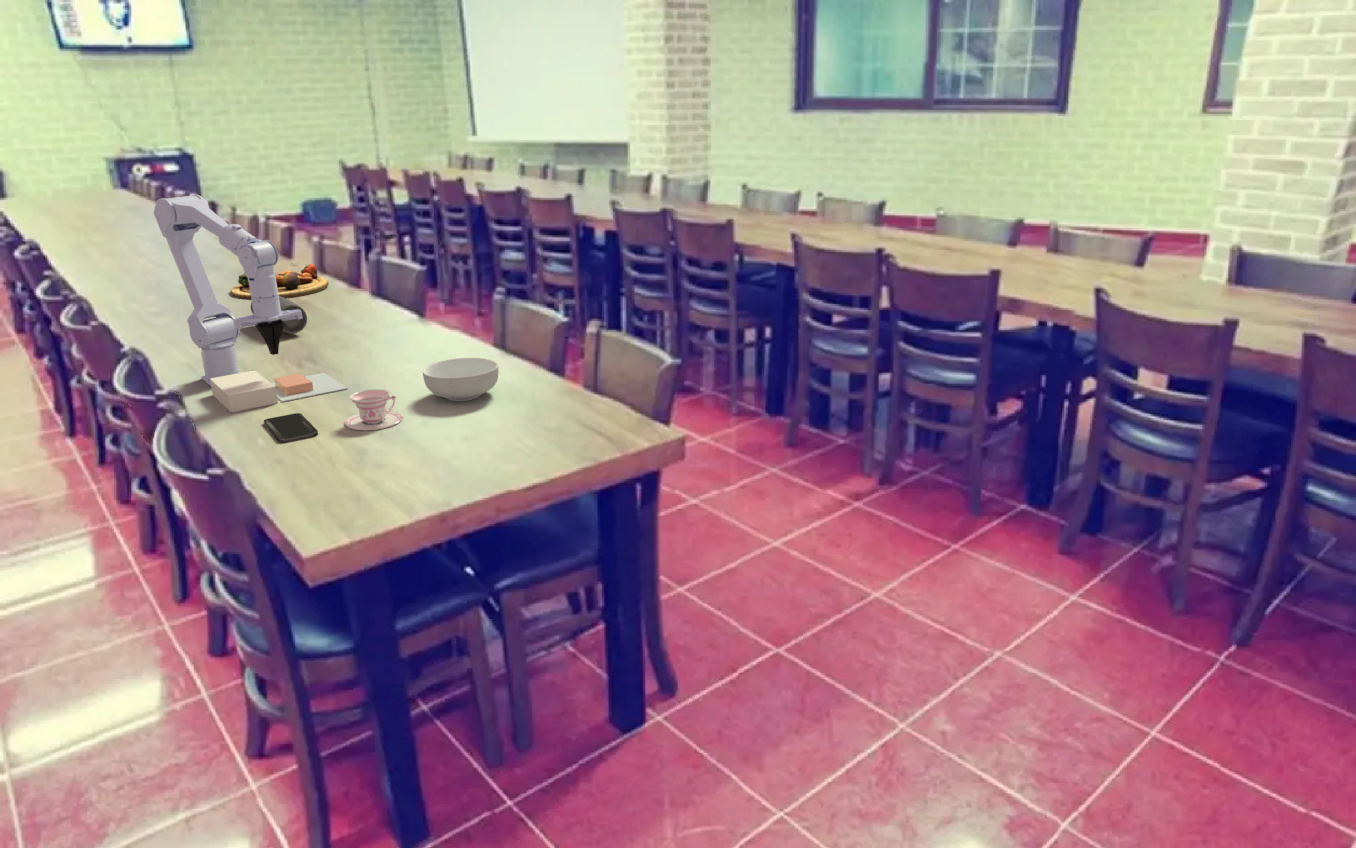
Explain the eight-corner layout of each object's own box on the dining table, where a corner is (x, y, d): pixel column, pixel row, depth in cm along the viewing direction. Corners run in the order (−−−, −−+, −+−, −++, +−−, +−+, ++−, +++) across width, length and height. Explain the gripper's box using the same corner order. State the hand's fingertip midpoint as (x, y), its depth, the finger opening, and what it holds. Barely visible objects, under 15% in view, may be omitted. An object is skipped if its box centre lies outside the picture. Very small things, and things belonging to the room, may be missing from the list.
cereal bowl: (493, 381, 226) (490, 353, 223) (506, 402, 211) (504, 372, 209) (421, 390, 220) (418, 361, 218) (430, 411, 205) (427, 381, 203)
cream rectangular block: (212, 394, 217) (209, 378, 216) (257, 386, 223) (254, 370, 222) (231, 412, 206) (228, 395, 204) (278, 403, 211) (275, 386, 210)
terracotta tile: (299, 373, 225) (301, 381, 226) (274, 378, 222) (275, 386, 222) (312, 382, 218) (313, 390, 219) (285, 387, 215) (287, 395, 216)
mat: (261, 385, 224) (261, 384, 224) (324, 373, 232) (324, 372, 232) (282, 402, 212) (282, 401, 212) (347, 389, 221) (347, 387, 221)
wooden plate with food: (310, 277, 349) (306, 255, 346) (343, 290, 326) (339, 266, 323) (220, 291, 329) (215, 268, 327) (248, 306, 306) (243, 281, 304)
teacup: (343, 434, 193) (339, 406, 191) (346, 415, 204) (342, 388, 202) (403, 428, 196) (400, 400, 194) (402, 410, 207) (399, 383, 205)
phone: (279, 440, 188) (262, 419, 199) (280, 445, 188) (263, 424, 199) (319, 432, 192) (300, 412, 203) (320, 437, 192) (301, 416, 204)
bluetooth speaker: (251, 326, 279) (245, 293, 275) (282, 320, 284) (277, 288, 281) (278, 340, 263) (273, 305, 259) (311, 334, 268) (306, 300, 265)
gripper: (235, 303, 204) (246, 362, 209) (303, 294, 212) (311, 351, 217) (227, 297, 209) (237, 356, 214) (293, 289, 217) (301, 345, 222)
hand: (274, 353), depth 216 cm, fingers closed
